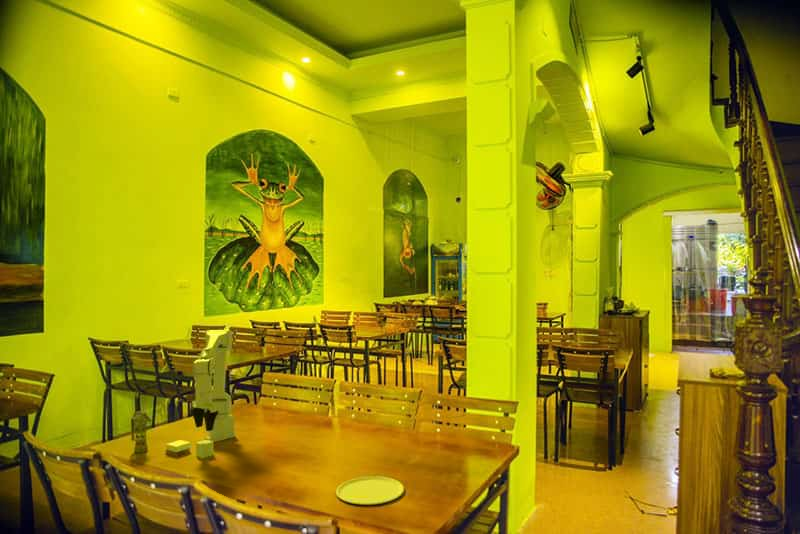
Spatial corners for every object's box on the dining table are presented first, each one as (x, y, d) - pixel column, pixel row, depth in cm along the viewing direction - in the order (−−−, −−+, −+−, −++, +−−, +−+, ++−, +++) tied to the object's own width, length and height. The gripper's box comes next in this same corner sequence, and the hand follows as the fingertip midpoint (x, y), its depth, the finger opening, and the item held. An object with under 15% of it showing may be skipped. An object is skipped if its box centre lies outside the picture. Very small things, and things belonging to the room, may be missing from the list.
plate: (418, 495, 164) (418, 491, 164) (358, 514, 152) (358, 510, 152) (380, 474, 181) (380, 471, 181) (323, 490, 169) (323, 486, 169)
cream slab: (180, 445, 210) (180, 439, 210) (190, 447, 207) (190, 442, 207) (166, 449, 205) (166, 444, 205) (176, 452, 202) (176, 446, 202)
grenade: (142, 454, 205) (141, 414, 205) (126, 453, 207) (125, 413, 207) (154, 447, 212) (153, 409, 212) (139, 446, 214) (138, 408, 214)
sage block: (207, 452, 205) (207, 439, 205) (213, 455, 202) (213, 441, 202) (196, 455, 202) (195, 442, 202) (202, 458, 199) (201, 444, 199)
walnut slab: (179, 450, 210) (179, 445, 210) (189, 452, 207) (189, 447, 207) (165, 455, 205) (165, 449, 205) (175, 457, 202) (175, 452, 202)
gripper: (184, 391, 204) (184, 427, 204) (203, 396, 194) (203, 434, 194) (201, 387, 209) (202, 423, 209) (221, 393, 200) (222, 430, 200)
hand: (204, 428), depth 202 cm, fingers open, 7 cm apart
